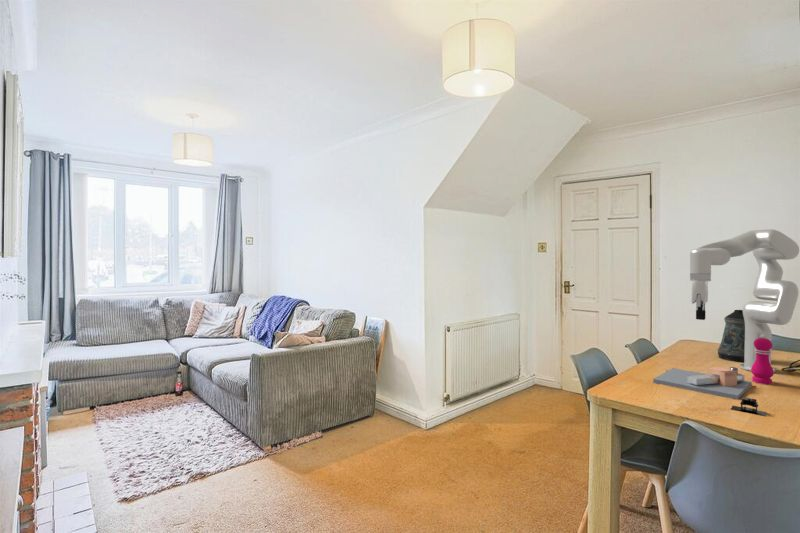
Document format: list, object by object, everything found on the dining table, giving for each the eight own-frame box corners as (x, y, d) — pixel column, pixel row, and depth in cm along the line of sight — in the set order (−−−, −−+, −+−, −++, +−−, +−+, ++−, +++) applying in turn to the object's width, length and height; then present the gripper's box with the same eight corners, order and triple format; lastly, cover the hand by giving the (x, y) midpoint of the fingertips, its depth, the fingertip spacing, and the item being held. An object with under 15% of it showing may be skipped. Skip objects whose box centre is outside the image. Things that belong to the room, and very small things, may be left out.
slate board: (672, 371, 195) (673, 368, 195) (751, 385, 174) (751, 381, 174) (653, 382, 178) (653, 378, 178) (737, 399, 157) (737, 395, 157)
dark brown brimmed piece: (724, 410, 147) (725, 397, 147) (727, 405, 153) (728, 392, 152) (772, 420, 139) (772, 406, 139) (774, 414, 144) (774, 400, 144)
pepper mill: (777, 385, 175) (778, 336, 174) (757, 384, 176) (758, 335, 175) (766, 380, 182) (767, 333, 181) (746, 379, 183) (748, 332, 183)
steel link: (732, 377, 178) (732, 365, 178) (746, 381, 172) (747, 369, 172) (685, 381, 173) (685, 369, 172) (698, 385, 167) (699, 373, 167)
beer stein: (710, 357, 223) (711, 309, 222) (732, 353, 231) (734, 307, 230) (746, 364, 208) (747, 313, 207) (769, 360, 216) (770, 311, 215)
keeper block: (719, 383, 176) (719, 367, 176) (736, 389, 169) (737, 371, 169) (707, 384, 175) (707, 367, 175) (724, 390, 168) (724, 372, 168)
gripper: (693, 276, 195) (693, 316, 195) (687, 278, 184) (687, 321, 184) (713, 276, 190) (713, 317, 190) (708, 278, 179) (708, 322, 179)
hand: (700, 319), depth 187 cm, fingers closed
